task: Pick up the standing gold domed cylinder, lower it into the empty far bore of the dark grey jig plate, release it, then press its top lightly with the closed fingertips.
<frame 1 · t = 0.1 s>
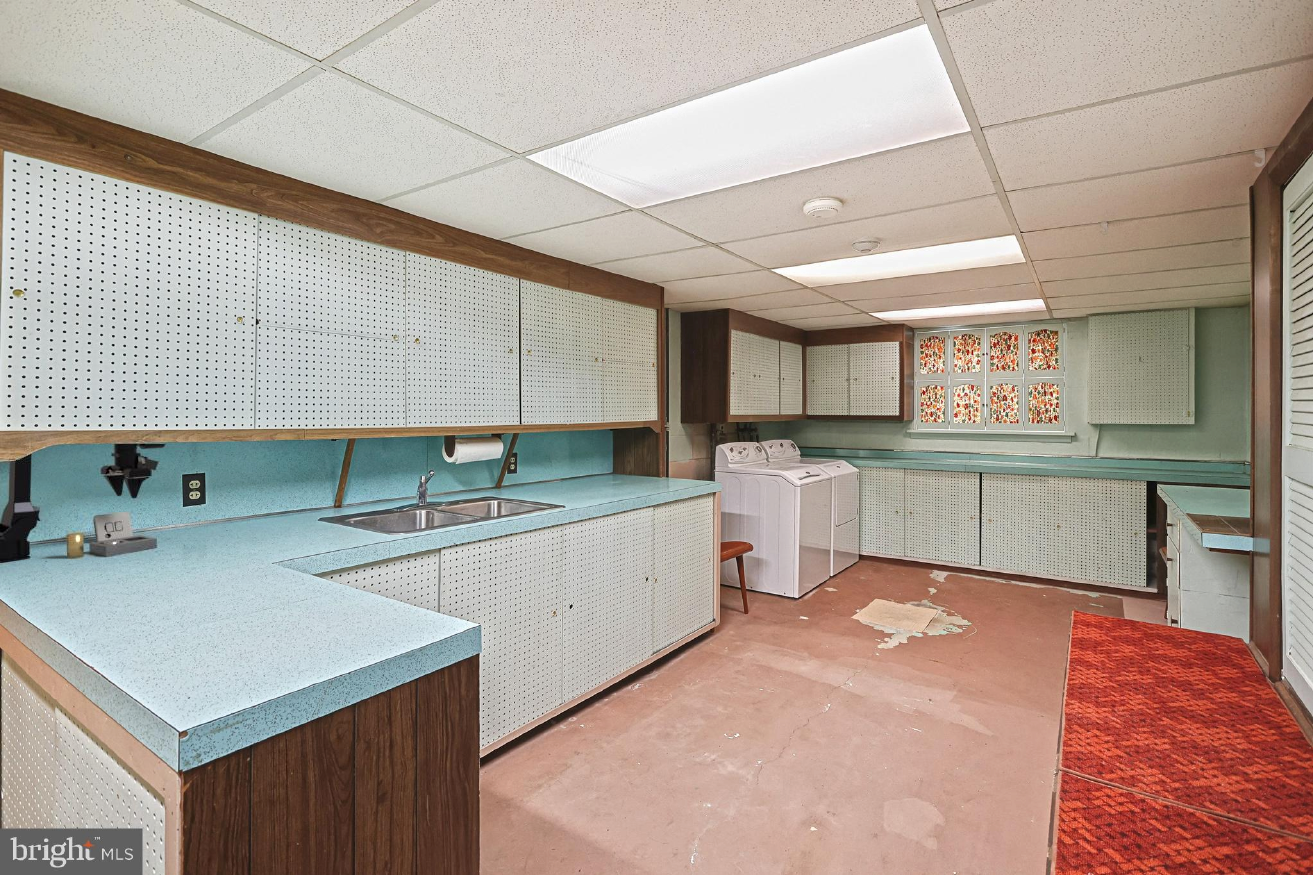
hand: (126, 497, 204), 15 cm above the countertop, fingers open, 9 cm apart
jig: (123, 550, 192), on the countertop
seated bushing: (112, 552, 189), resting in jig
electrical switch: (111, 541, 205), on the countertop
gold domed cylinder: (75, 557, 183), on the countertop
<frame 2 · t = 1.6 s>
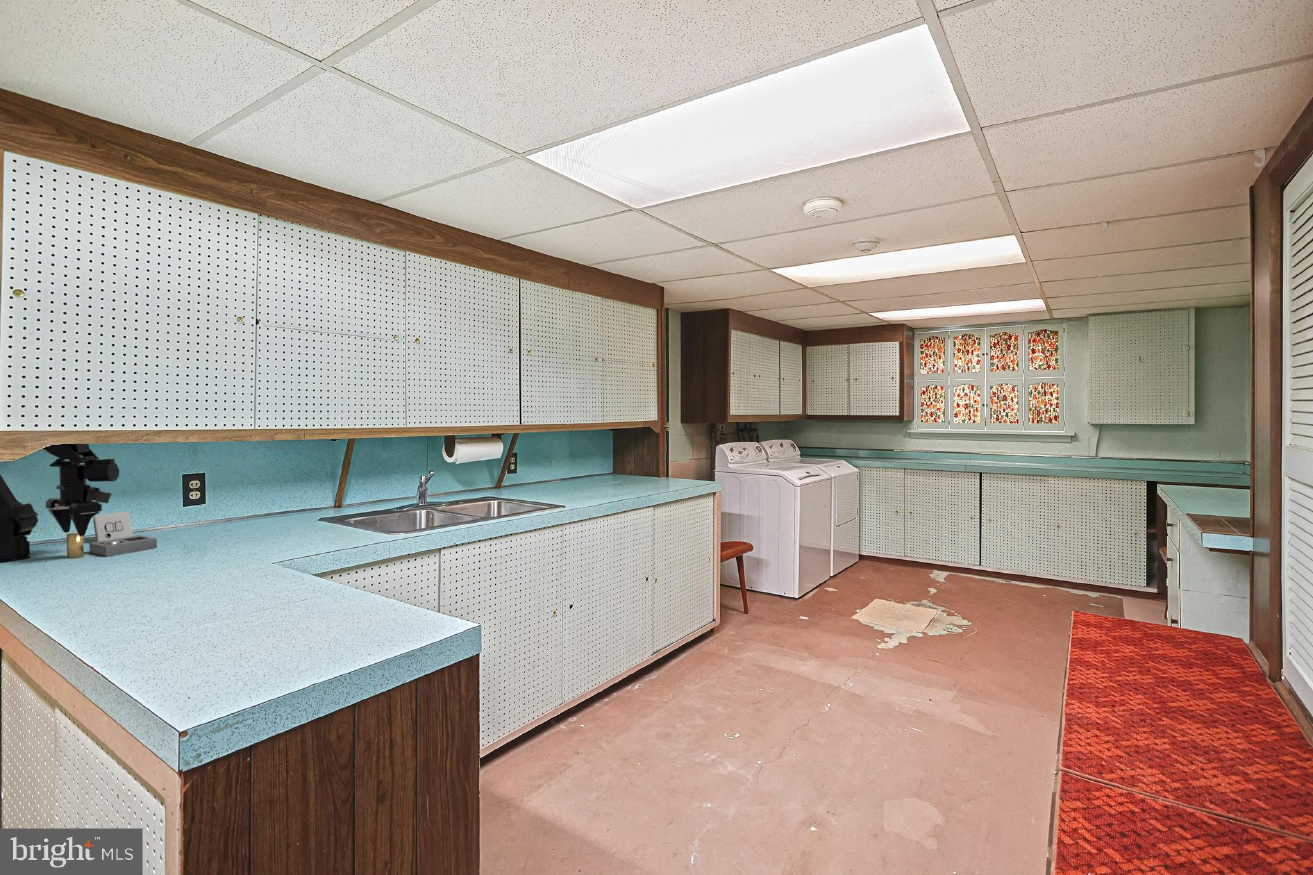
hand: (74, 534, 182), 7 cm above the countertop, fingers open, 9 cm apart
nothing on the countertop moved.
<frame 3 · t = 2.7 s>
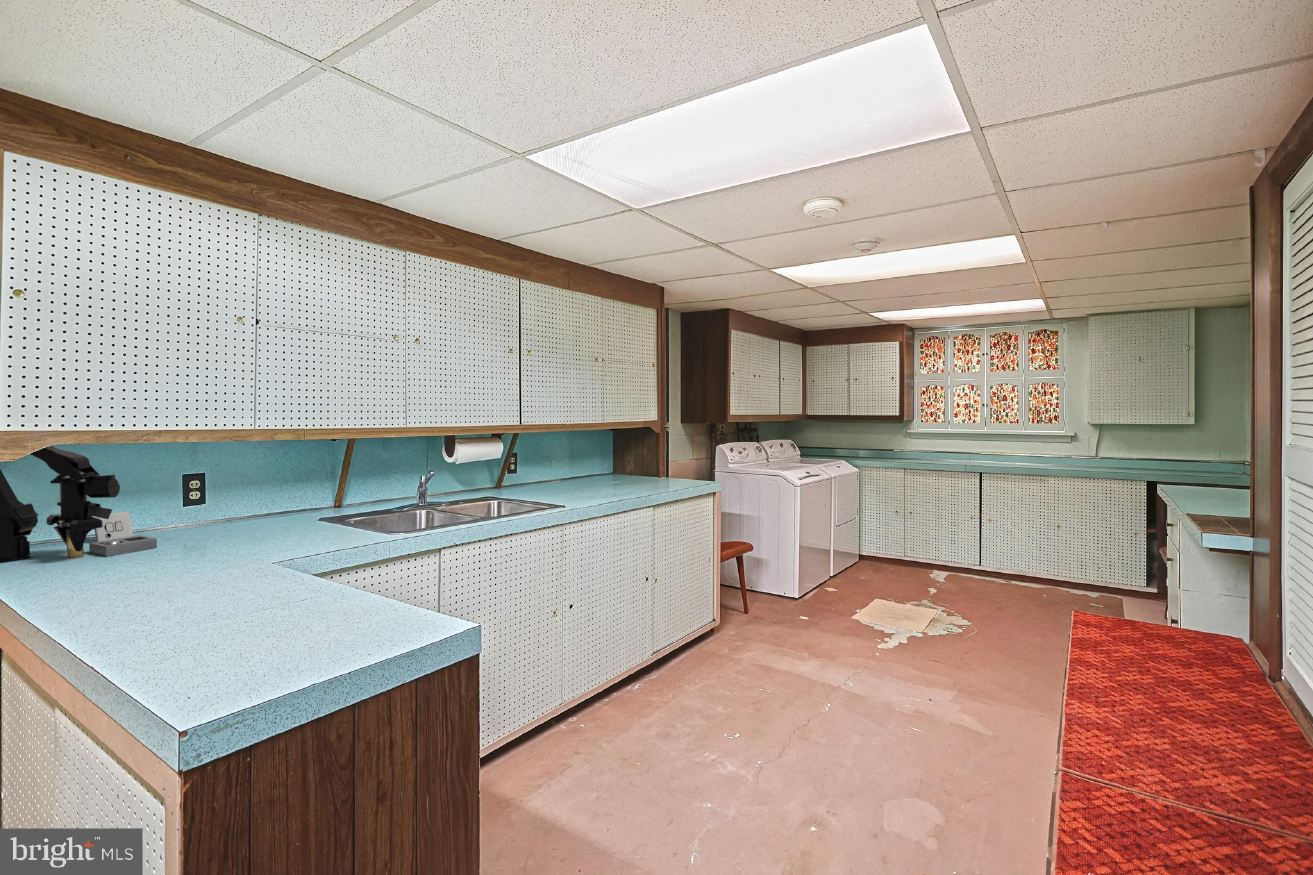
hand: (75, 550, 183), 2 cm above the countertop, fingers closed on gold domed cylinder, 4 cm apart
gold domed cylinder: (75, 557, 183), on the countertop, touching gripper
everything else where it was.
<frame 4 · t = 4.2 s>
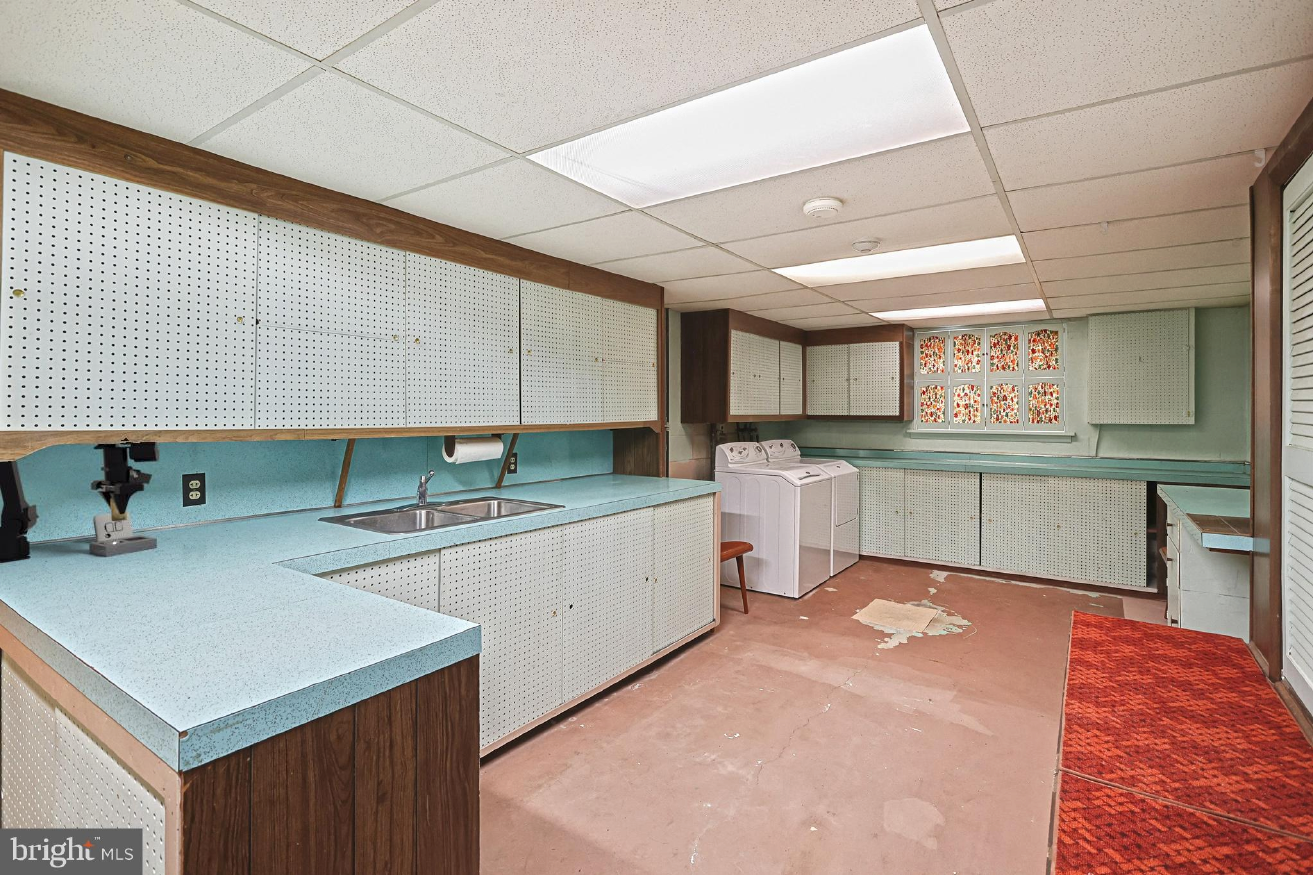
hand: (119, 513, 190), 12 cm above the countertop, fingers closed on gold domed cylinder, 4 cm apart
gold domed cylinder: (119, 520, 191), point 10 cm above the countertop, touching gripper
everything else where it was.
when the fingers open (3 cm above the countertop, at t = 5.9 s): gold domed cylinder drops 2 cm, resting in jig.
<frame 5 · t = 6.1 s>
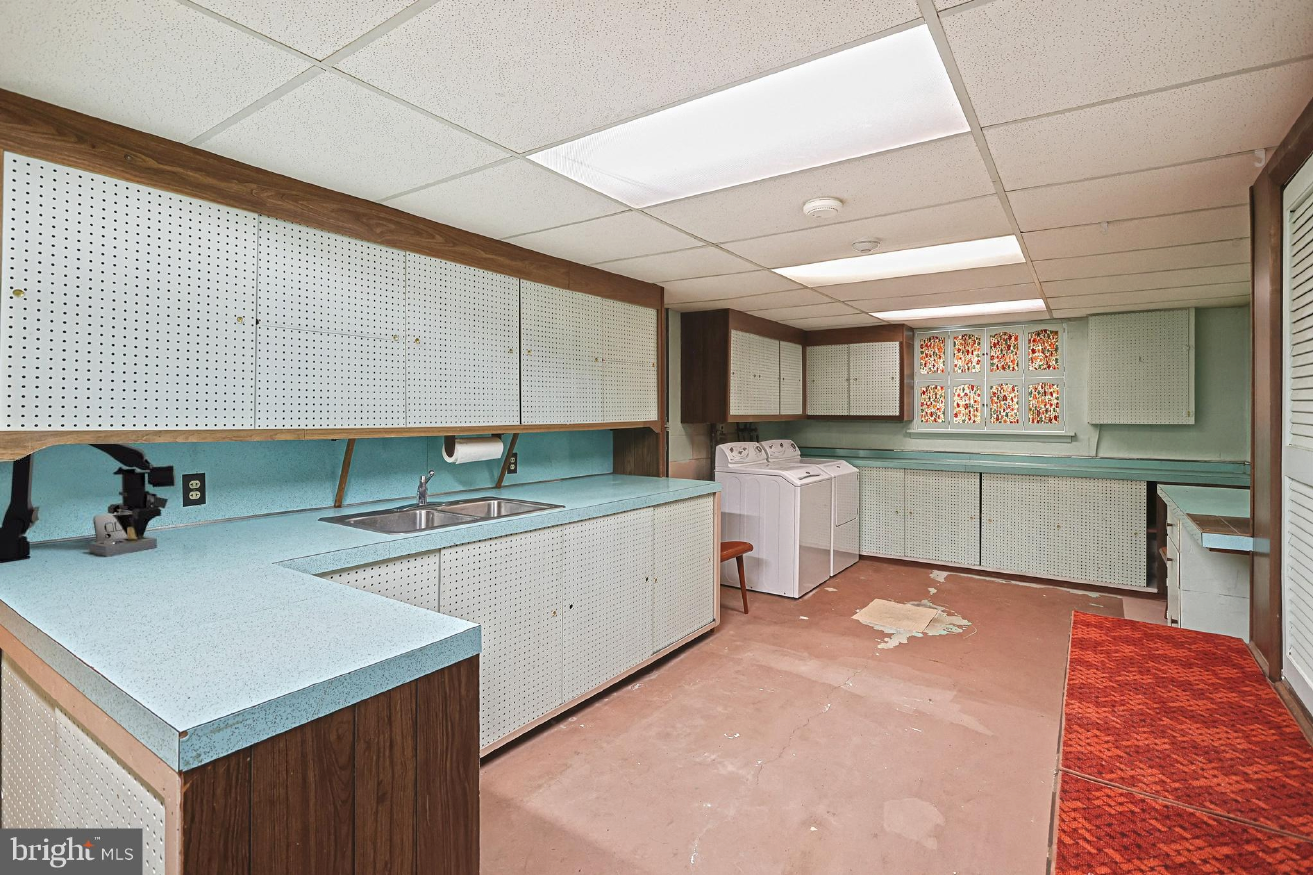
hand: (135, 537, 194), 3 cm above the countertop, fingers open, 6 cm apart
gold domed cylinder: (135, 548, 195), resting in jig
everything else where it was.
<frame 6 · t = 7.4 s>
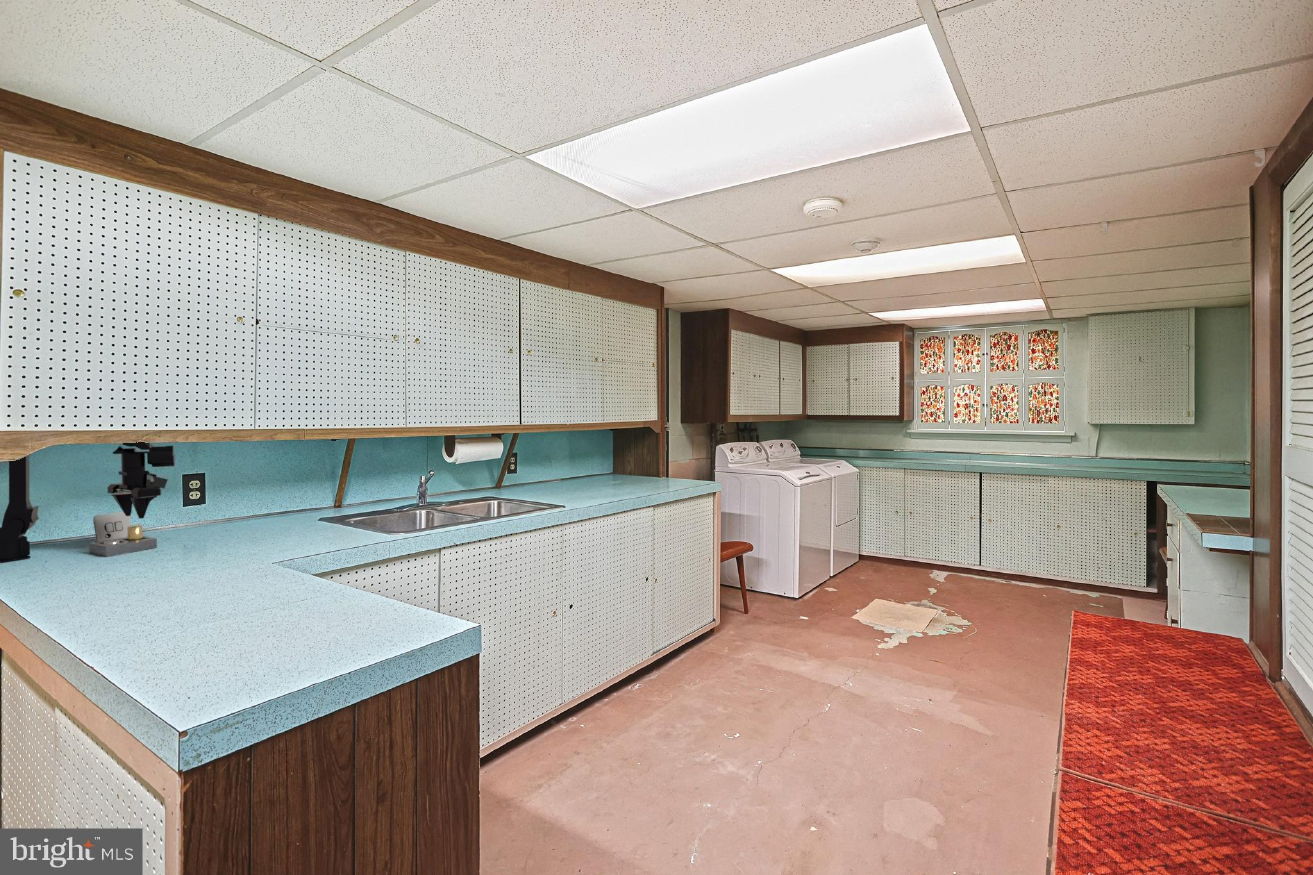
hand: (134, 517, 194), 10 cm above the countertop, fingers open, 7 cm apart
nothing on the countertop moved.
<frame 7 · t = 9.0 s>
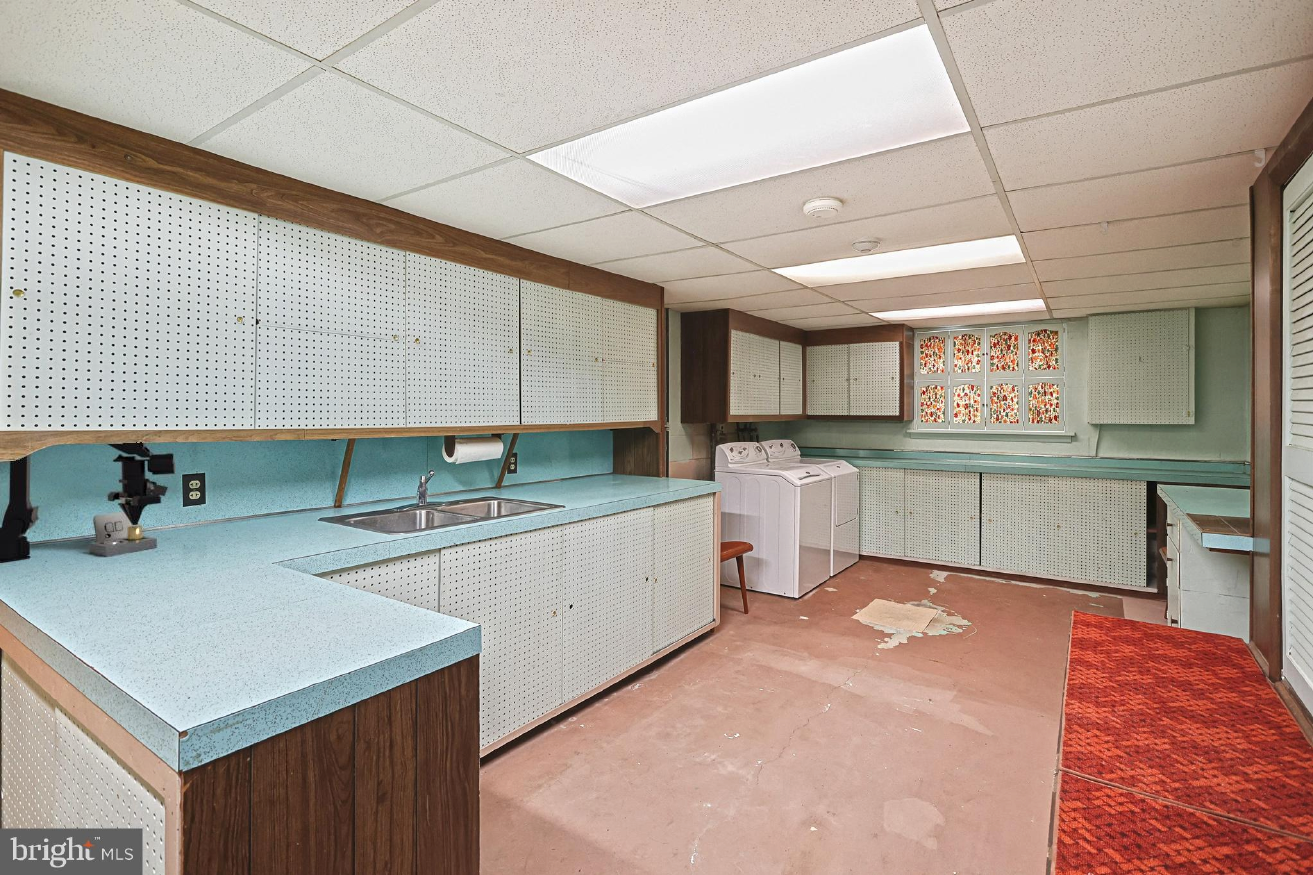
hand: (134, 524, 194), 7 cm above the countertop, fingers closed
nothing on the countertop moved.
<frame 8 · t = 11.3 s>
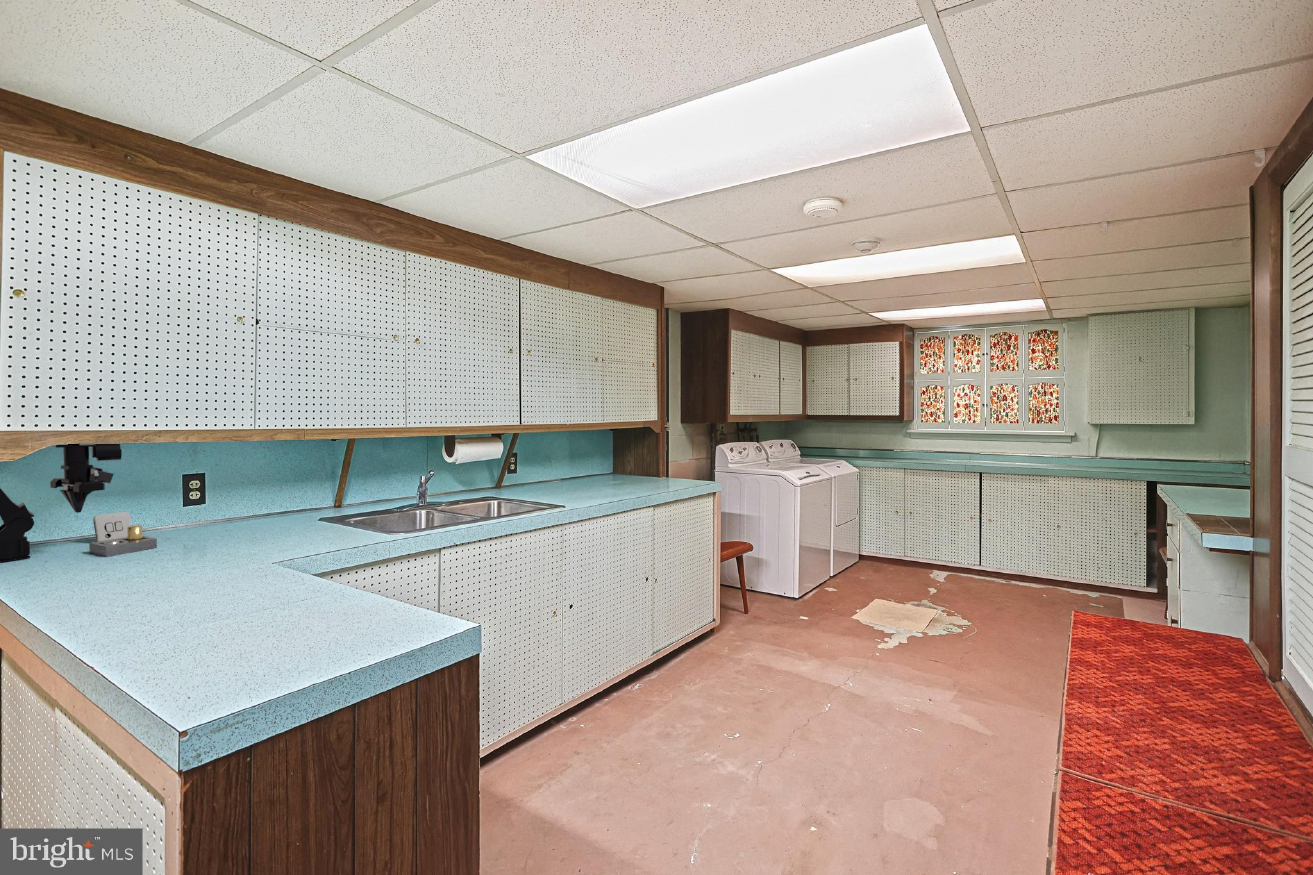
hand: (78, 512, 189), 12 cm above the countertop, fingers closed
nothing on the countertop moved.
at the end: gold domed cylinder 0.0 cm from the target spot on the jig, point 0.0 cm above the jig's base; gold domed cylinder tilted 0°; the gripper is holding nothing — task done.
